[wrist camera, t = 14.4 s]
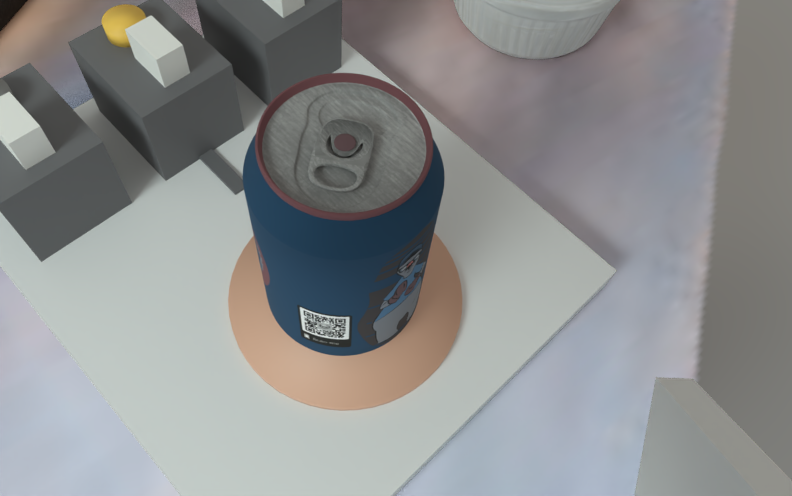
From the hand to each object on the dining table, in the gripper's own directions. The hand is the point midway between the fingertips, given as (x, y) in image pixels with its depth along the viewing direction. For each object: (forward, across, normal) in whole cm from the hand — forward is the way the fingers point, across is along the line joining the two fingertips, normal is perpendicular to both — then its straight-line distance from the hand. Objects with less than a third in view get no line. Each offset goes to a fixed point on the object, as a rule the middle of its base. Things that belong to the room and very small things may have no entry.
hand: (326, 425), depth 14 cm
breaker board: (+23, -4, -3) cm, 23 cm away
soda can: (+19, 0, -4) cm, 19 cm away
